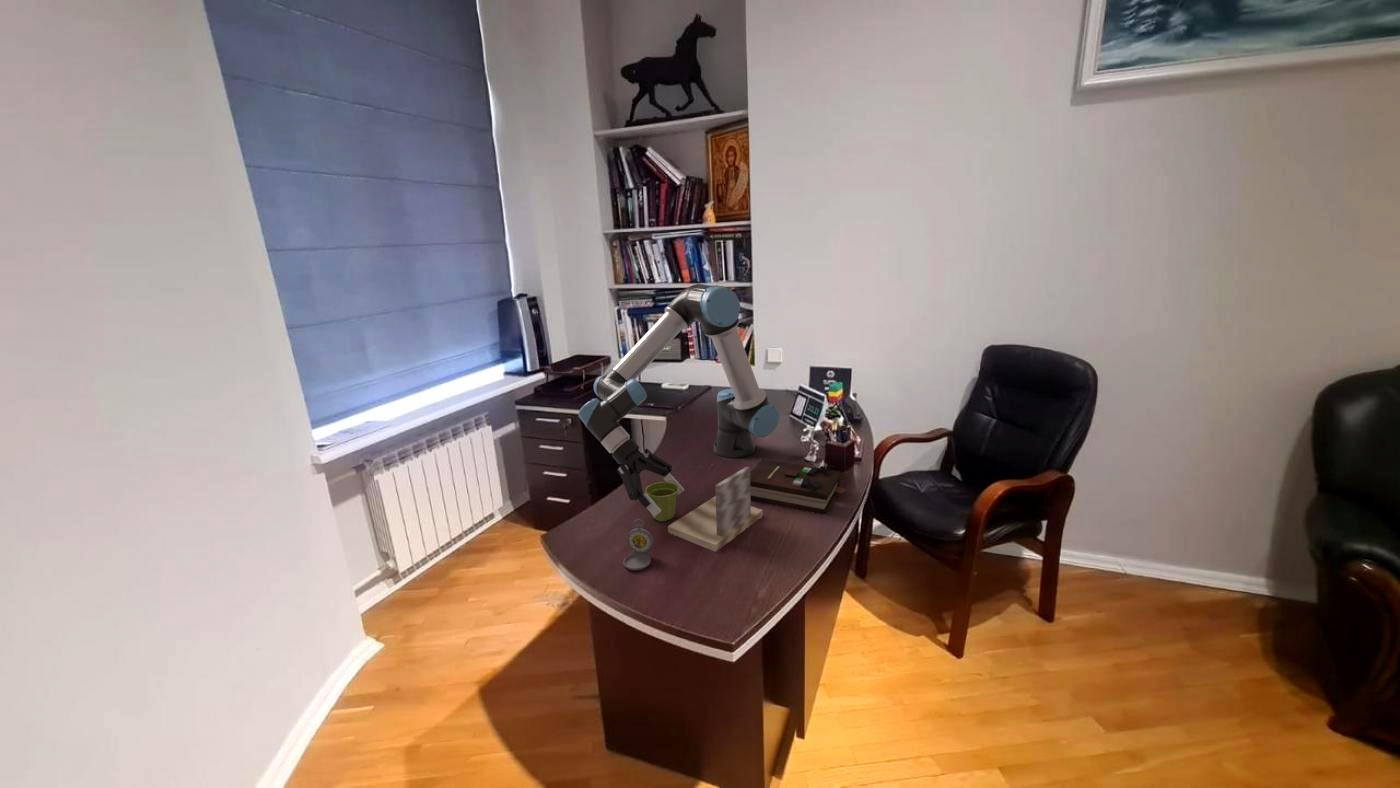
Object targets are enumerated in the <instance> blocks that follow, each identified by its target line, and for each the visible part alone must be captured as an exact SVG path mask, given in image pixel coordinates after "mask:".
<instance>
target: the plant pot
mask: <svg viewBox="0 0 1400 788" xmlns="http://www.w3.org/2000/svg"><path fill="white" fill-rule="evenodd" d="M678 491H679V487H678V485H676V484H674V483H671V482H666V481H657V482H655V483H652V484H649V485H647V486H646V487H645V491H644V492H645V493H647V494H648V496H649V497H650V498H651V499H652V500H653V501H654V503H655V504H656V505H657V506H658V507H659V508H660V509H661V512H660V513H658V514H657V515H656V516H655V517H654V516H653V515H652V518H653V519H655V520H656V521H657V520H658V522H668V521H669V520H672V518H673V517H675V513H676V502H677V496H678V495H677V492H678ZM673 519H674V518H673ZM667 520H668V521H667Z"/></svg>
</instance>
